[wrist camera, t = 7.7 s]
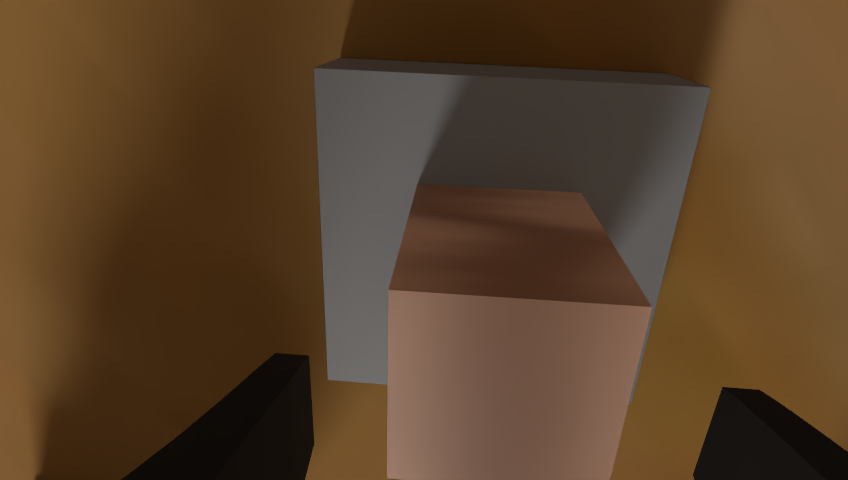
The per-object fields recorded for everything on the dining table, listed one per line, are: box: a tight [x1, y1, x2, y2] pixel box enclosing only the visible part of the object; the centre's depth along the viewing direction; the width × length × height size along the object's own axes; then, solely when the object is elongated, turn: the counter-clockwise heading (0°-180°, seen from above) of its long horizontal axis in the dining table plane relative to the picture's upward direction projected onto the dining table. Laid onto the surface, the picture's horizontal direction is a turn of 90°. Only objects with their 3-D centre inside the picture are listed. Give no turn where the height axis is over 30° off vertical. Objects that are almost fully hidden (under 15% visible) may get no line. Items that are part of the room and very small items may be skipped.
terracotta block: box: [387, 184, 652, 480], centre depth 13 cm, size 4×4×6 cm
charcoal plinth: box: [314, 58, 711, 404], centre depth 17 cm, size 10×10×3 cm
